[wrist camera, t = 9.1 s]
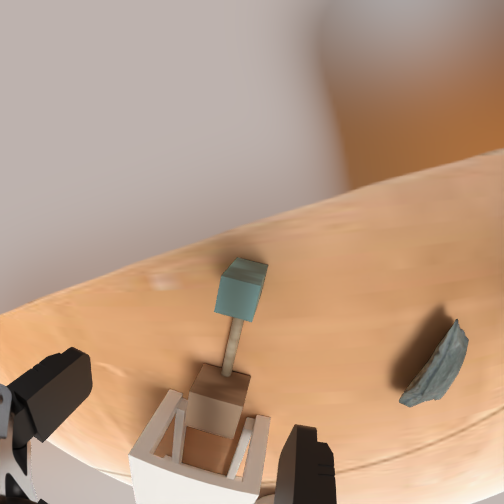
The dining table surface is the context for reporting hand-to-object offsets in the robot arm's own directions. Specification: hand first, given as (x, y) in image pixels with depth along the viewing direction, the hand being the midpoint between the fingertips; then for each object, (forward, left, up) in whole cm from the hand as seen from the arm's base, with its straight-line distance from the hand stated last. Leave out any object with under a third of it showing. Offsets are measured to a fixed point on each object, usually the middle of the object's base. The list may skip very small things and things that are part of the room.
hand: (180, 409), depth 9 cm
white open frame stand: (0, +24, -18) cm, 30 cm away
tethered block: (0, +7, -18) cm, 19 cm away
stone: (-22, +5, -18) cm, 29 cm away
